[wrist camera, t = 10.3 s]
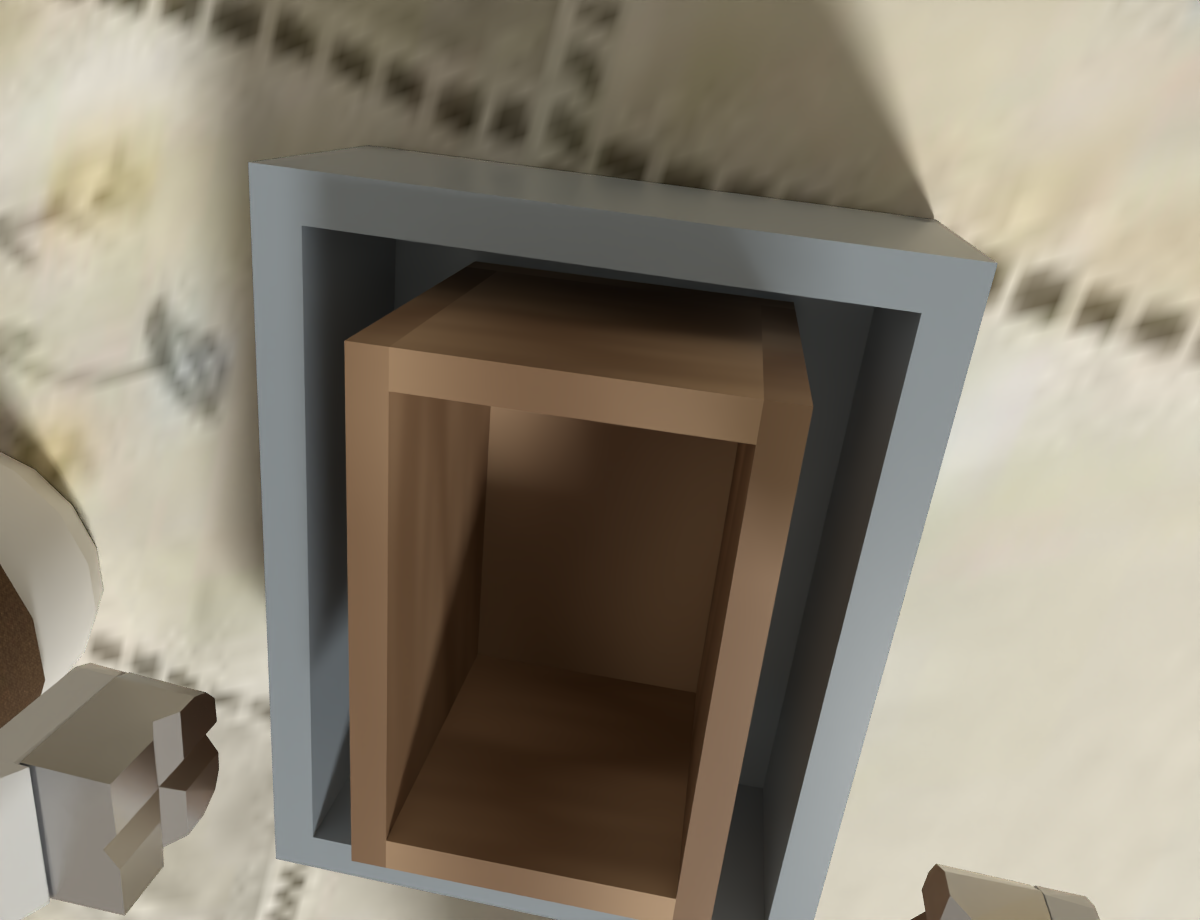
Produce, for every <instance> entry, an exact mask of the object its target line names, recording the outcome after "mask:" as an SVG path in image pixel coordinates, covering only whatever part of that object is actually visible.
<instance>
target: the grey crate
mask: <svg viewBox="0 0 1200 920" xmlns="http://www.w3.org/2000/svg"><path fill="white" fill-rule="evenodd" d="M248 168H249V193H250V218H251V243H252V268H253V293H254V318H255V343H256V368H257V393H258V418H259V443H260V468H261V493H262V518H263V543H264V568H265V593H266V618H267V643H268V668H269V693H270V718H271V743H272V768H273V793H274V818H275V843H276V859H279V860H284V861H289V862H293V863H298V864H302V865H307V866H312V867H316V868H321V869H325V870H330V871H335V872H339V873H344V874H349V875H353V876H358V877H362V878H367V879H372V880H376V881H381V882H385V883H390V884H395V885H399V886H404V887H408V888H413V889H418V890H422V891H427V892H432V893H436V894H441V895H445V896H450V897H455V898H459V899H464V900H468V901H473V902H478V903H482V904H487V905H491V906H496V907H501V908H505V909H510V910H515V911H519V912H524V913H528V914H533V915H538V916H542V917H547V918H551V919H556V920H638V919H633V918H628V917H623V916H618V915H613V914H609V913H604V912H599V911H594V910H589V909H584V908H579V907H574V906H570V905H565V904H560V903H555V902H550V901H545V900H540V899H535V898H530V897H526V896H521V895H516V894H511V893H506V892H501V891H496V890H491V889H486V888H482V887H477V886H472V885H467V884H462V883H457V882H452V881H447V880H443V879H438V878H433V877H428V876H423V875H418V874H413V873H408V872H403V871H399V870H394V869H389V868H384V867H379V866H374V865H369V864H364V863H360V862H355V861H351V788H350V716H349V643H348V570H347V497H346V424H345V351H344V341H345V340H346V339H348V338H350V337H351V336H353V335H355V334H356V333H358V332H359V331H361V330H363V329H364V328H366V327H368V326H369V325H371V324H373V323H374V322H376V321H378V320H379V319H381V318H383V317H384V316H386V315H387V314H389V313H391V312H392V311H394V310H396V309H397V308H399V307H401V306H402V305H404V304H406V303H407V302H409V301H411V300H412V299H414V298H415V297H417V296H419V295H420V294H422V293H424V292H425V291H427V290H429V289H430V288H432V287H434V286H435V285H437V284H438V283H440V282H442V281H443V280H445V279H447V278H448V277H450V276H452V275H453V274H455V273H457V272H458V271H460V270H462V269H463V268H465V267H466V266H468V265H470V264H471V263H473V262H475V261H477V262H485V263H493V264H501V265H509V266H516V267H524V268H532V269H540V270H547V271H555V272H563V273H571V274H578V275H586V276H594V277H602V278H609V279H617V280H625V281H633V282H641V283H648V284H656V285H664V286H672V287H679V288H687V289H695V290H703V291H710V292H718V293H726V294H734V295H741V296H749V297H757V298H765V299H773V300H780V301H788V302H794V306H795V311H796V317H797V322H798V327H799V333H800V338H801V343H802V349H803V354H804V359H805V365H806V370H807V375H808V381H809V386H810V391H811V397H812V402H813V411H812V416H811V421H810V426H809V431H808V436H807V441H806V446H805V451H804V456H803V461H802V466H801V471H800V476H799V481H798V486H797V491H796V496H795V501H794V507H793V512H792V517H791V522H790V527H789V532H788V537H787V542H786V547H785V552H784V557H783V562H782V567H781V572H780V577H779V582H778V587H777V592H776V597H775V602H774V607H773V612H772V617H771V622H770V627H769V632H768V637H767V642H766V647H765V652H764V657H763V662H762V667H761V672H760V677H759V682H758V687H757V692H756V697H755V702H754V707H753V712H752V718H751V723H750V728H749V733H748V738H747V743H746V748H745V753H744V758H743V763H742V768H741V773H740V778H739V783H738V788H737V793H736V798H735V803H734V808H733V813H732V818H731V823H730V828H729V833H728V838H727V843H726V848H725V853H724V858H723V863H722V868H721V873H720V878H719V883H718V888H717V893H716V898H715V903H714V908H713V913H712V918H711V920H814V918H815V914H816V911H817V907H818V903H819V900H820V896H821V893H822V889H823V886H824V882H825V878H826V875H827V871H828V868H829V864H830V861H831V857H832V853H833V850H834V846H835V843H836V839H837V835H838V832H839V828H840V825H841V821H842V818H843V814H844V810H845V807H846V803H847V800H848V796H849V793H850V789H851V785H852V782H853V778H854V775H855V771H856V768H857V764H858V760H859V757H860V753H861V750H862V746H863V743H864V739H865V735H866V732H867V728H868V725H869V721H870V718H871V714H872V710H873V707H874V703H875V700H876V696H877V692H878V689H879V685H880V682H881V678H882V675H883V671H884V667H885V664H886V660H887V657H888V653H889V650H890V646H891V642H892V639H893V635H894V632H895V628H896V625H897V621H898V617H899V614H900V610H901V607H902V603H903V600H904V596H905V592H906V589H907V585H908V582H909V578H910V574H911V571H912V567H913V564H914V560H915V557H916V553H917V549H918V546H919V542H920V539H921V535H922V532H923V528H924V524H925V521H926V517H927V514H928V510H929V507H930V503H931V499H932V496H933V492H934V489H935V485H936V482H937V478H938V474H939V471H940V467H941V464H942V460H943V457H944V453H945V449H946V446H947V442H948V439H949V435H950V431H951V428H952V424H953V421H954V417H955V414H956V410H957V406H958V403H959V399H960V396H961V392H962V389H963V385H964V381H965V378H966V374H967V371H968V367H969V364H970V360H971V356H972V353H973V349H974V346H975V342H976V339H977V335H978V331H979V328H980V324H981V321H982V317H983V313H984V310H985V306H986V303H987V299H988V296H989V292H990V288H991V285H992V281H993V278H994V274H995V271H996V267H997V262H995V261H994V260H992V259H991V258H990V257H988V256H987V255H985V254H984V253H983V252H981V251H980V250H978V249H977V248H975V247H974V246H973V245H971V244H970V243H968V242H967V241H965V240H964V239H963V238H961V237H960V236H958V235H957V234H956V233H954V232H953V231H951V230H950V229H948V228H947V227H946V226H944V225H943V224H941V223H940V222H939V221H937V220H935V219H927V218H920V217H912V216H904V215H897V214H889V213H882V212H874V211H866V210H859V209H851V208H843V207H836V206H828V205H820V204H813V203H805V202H798V201H790V200H782V199H775V198H767V197H759V196H752V195H744V194H736V193H729V192H721V191H713V190H706V189H698V188H691V187H683V186H675V185H668V184H660V183H652V182H645V181H637V180H629V179H622V178H614V177H607V176H599V175H591V174H584V173H576V172H568V171H561V170H553V169H545V168H538V167H530V166H522V165H515V164H507V163H500V162H492V161H484V160H477V159H469V158H461V157H454V156H446V155H438V154H431V153H423V152H416V151H408V150H400V149H393V148H385V147H377V146H370V145H368V146H361V147H353V148H346V149H339V150H332V151H325V152H318V153H310V154H303V155H296V156H289V157H282V158H274V159H267V160H260V161H253V162H248Z"/></svg>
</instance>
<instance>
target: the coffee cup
mask: <svg viewBox="0 0 1200 920" xmlns="http://www.w3.org/2000/svg"><path fill="white" fill-rule="evenodd" d="M102 594H103V584H102V578H101V572H100V566H99V560H98V554H97V548H96V547H95V545H94V543H93V541H92V539H91V538H90V536H89V534H88V532H87V531H86V529H85V527H84V525H83V523H82V522H81V520H80V518H79V516H78V514H77V513H76V511H75V509H74V507H73V506H72V505H71V504H70V503H69V502H68V501H67V500H66V499H65V498H64V497H63V496H62V495H61V494H60V493H59V492H58V491H57V490H56V489H55V488H54V487H53V486H51V485H50V484H49V483H48V482H47V481H46V480H45V479H44V478H43V477H42V476H41V475H40V474H39V473H38V472H37V471H36V470H35V469H33V468H31V467H29V466H27V465H25V464H23V463H21V462H19V461H17V460H15V459H13V458H11V457H9V456H7V455H5V454H3V453H2V452H0V729H1V728H2V727H3V726H4V725H5V724H7V723H8V722H9V721H10V720H11V719H13V718H14V717H15V716H16V715H18V714H19V713H20V712H21V711H22V710H24V709H25V708H26V707H27V706H29V705H30V704H31V703H32V702H33V701H35V700H36V699H37V698H38V697H39V696H41V695H42V694H43V693H44V692H46V691H47V690H48V689H49V688H50V687H52V686H53V685H54V684H55V683H57V682H58V681H59V680H60V679H61V678H63V677H64V676H65V675H66V674H67V673H68V672H69V670H70V669H71V668H72V667H73V666H74V664H75V663H76V662H77V661H78V660H79V658H80V657H81V656H82V655H83V654H84V652H85V649H86V646H87V643H88V640H89V637H90V634H91V630H92V627H93V624H94V621H95V617H96V614H97V611H98V607H99V604H100V601H101V597H102Z"/></svg>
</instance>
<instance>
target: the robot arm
mask: <svg viewBox="0 0 1200 920" xmlns="http://www.w3.org/2000/svg"><path fill="white" fill-rule="evenodd" d="M216 722H217V718H216V708H215V698H213V697H212V696H210V695H209V694H207V693H206V692H202V691H199V690H195V689H191V688H187V687H183V686H180V685H176V684H172V683H168V682H164V681H161V680H157V679H153V678H149V677H145V676H142V675H138V674H134V673H130V672H129V673H126V672H122V671H118V670H115V669H111V668H107V667H104V666H100V665H96V664H93V663H88V664H85V665H81V666H77V667H75V668H74V669H72V670H71V671H70V672H69V673H67V674H66V675H65V676H64V677H63V678H61V679H60V680H59V681H58V682H57V683H55V684H54V685H53V686H52V687H50V688H49V689H48V690H47V691H46V692H44V693H43V694H42V695H41V696H39V697H38V698H37V699H36V700H35V701H33V702H32V703H31V704H30V705H29V706H27V707H26V708H25V709H24V710H22V711H21V712H20V713H19V714H18V715H16V716H15V717H14V718H13V719H11V720H10V721H9V722H8V723H7V724H5V725H4V726H3V727H2V728H1V729H0V920H22V919H23V918H25V917H27V916H28V915H30V914H32V913H34V912H35V911H37V910H39V909H40V908H42V907H44V906H45V905H47V904H49V903H50V898H52V899H56V900H61V901H65V902H69V903H73V904H78V905H82V906H86V907H91V908H95V909H99V910H103V911H108V912H112V913H116V914H121V915H126V913H127V912H128V911H129V910H130V908H131V907H132V906H133V904H134V903H135V902H136V901H137V899H138V898H139V897H140V896H141V894H142V893H143V892H144V891H145V889H146V888H147V887H148V886H149V884H150V883H151V882H152V881H153V879H154V878H155V877H156V875H157V874H158V873H159V872H160V870H161V869H162V868H163V867H164V856H163V847H165V846H167V845H169V844H171V843H173V842H175V841H177V840H179V839H181V838H183V837H185V836H187V835H189V833H190V832H191V831H192V829H193V828H194V827H195V825H196V824H197V823H198V821H199V820H200V819H201V817H202V816H203V815H204V813H205V811H206V808H207V806H208V804H209V802H210V799H211V797H212V795H213V793H214V791H215V787H216V782H217V776H218V771H219V760H218V751H217V750H216V748H215V747H214V745H213V744H212V743H211V741H210V740H209V738H208V737H207V736H206V733H207V732H208V731H209V730H210V729H211V728H212V726H213V725H214V724H215V723H216ZM922 894H923V899H924V905H925V912H924V913H922V914H920V915H918V916H917V917H915V918H913V919H911V920H1100V918H1099V916H1098V913H1097V911H1096V908H1095V906H1094V905H1093V904H1092V903H1091V902H1090V901H1089V899H1088V898H1087V897H1085V896H1080V895H1076V894H1071V893H1067V892H1062V891H1058V890H1053V889H1049V888H1044V887H1040V886H1034V887H1033V886H1031V885H1028V884H1024V883H1020V882H1015V881H1011V880H1006V879H1002V878H997V877H993V876H989V875H984V874H980V873H975V872H971V871H966V870H962V869H958V868H953V867H949V866H944V865H940V864H935V866H934V867H933V868H932V869H931V870H930V871H929V873H928V875H927V878H926V881H925V883H924V886H923V888H922Z"/></svg>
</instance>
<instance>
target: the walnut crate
mask: <svg viewBox="0 0 1200 920" xmlns="http://www.w3.org/2000/svg"><path fill="white" fill-rule="evenodd" d="M344 351H345V424H346V497H347V570H348V643H349V716H350V788H351V861H355V862H360V863H364V864H369V865H374V866H379V867H384V868H389V869H394V870H399V871H403V872H408V873H413V874H418V875H423V876H428V877H433V878H438V879H443V880H447V881H452V882H457V883H462V884H467V885H472V886H477V887H482V888H486V889H491V890H496V891H501V892H506V893H511V894H516V895H521V896H526V897H530V898H535V899H540V900H545V901H550V902H555V903H560V904H565V905H570V906H574V907H579V908H584V909H589V910H594V911H599V912H604V913H609V914H613V915H618V916H623V917H628V918H633V919H638V920H711V918H712V913H713V908H714V903H715V898H716V893H717V888H718V883H719V878H720V873H721V868H722V863H723V858H724V853H725V848H726V843H727V838H728V833H729V828H730V823H731V818H732V813H733V808H734V803H735V798H736V793H737V788H738V783H739V778H740V773H741V768H742V763H743V758H744V753H745V748H746V743H747V738H748V733H749V728H750V723H751V718H752V712H753V707H754V702H755V697H756V692H757V687H758V682H759V677H760V672H761V667H762V662H763V657H764V652H765V647H766V642H767V637H768V632H769V627H770V622H771V617H772V612H773V607H774V602H775V597H776V592H777V587H778V582H779V577H780V572H781V567H782V562H783V557H784V552H785V547H786V542H787V537H788V532H789V527H790V522H791V517H792V512H793V507H794V501H795V496H796V491H797V486H798V481H799V476H800V471H801V466H802V461H803V456H804V451H805V446H806V441H807V436H808V431H809V426H810V421H811V416H812V411H813V402H812V397H811V391H810V386H809V381H808V375H807V370H806V365H805V359H804V354H803V349H802V343H801V338H800V333H799V327H798V322H797V317H796V311H795V306H794V302H788V301H780V300H773V299H765V298H757V297H749V296H741V295H734V294H726V293H718V292H710V291H703V290H695V289H687V288H679V287H672V286H664V285H656V284H648V283H641V282H633V281H625V280H617V279H609V278H602V277H594V276H586V275H578V274H571V273H563V272H555V271H547V270H540V269H532V268H524V267H516V266H509V265H501V264H493V263H485V262H477V261H475V262H473V263H471V264H470V265H468V266H466V267H465V268H463V269H462V270H460V271H458V272H457V273H455V274H453V275H452V276H450V277H448V278H447V279H445V280H443V281H442V282H440V283H438V284H437V285H435V286H434V287H432V288H430V289H429V290H427V291H425V292H424V293H422V294H420V295H419V296H417V297H415V298H414V299H412V300H411V301H409V302H407V303H406V304H404V305H402V306H401V307H399V308H397V309H396V310H394V311H392V312H391V313H389V314H387V315H386V316H384V317H383V318H381V319H379V320H378V321H376V322H374V323H373V324H371V325H369V326H368V327H366V328H364V329H363V330H361V331H359V332H358V333H356V334H355V335H353V336H351V337H350V338H348V339H346V340H345V341H344Z"/></svg>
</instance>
